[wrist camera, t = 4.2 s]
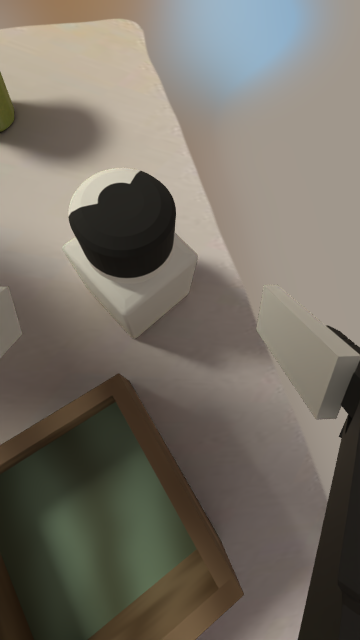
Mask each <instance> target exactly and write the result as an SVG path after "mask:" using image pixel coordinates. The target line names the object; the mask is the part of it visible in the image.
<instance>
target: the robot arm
mask: <svg viewBox="0 0 360 640" xmlns="http://www.w3.org/2000/svg"><path fill="white" fill-rule="evenodd" d="M256 330H257V332H258V333H259V335H260V336H261V338H262V339H263V341H264V342H265V344H266V345H267V347H268V348H269V350H270V351H271V353H272V354H273V356H274V357H275V359H276V360H277V362H278V363H279V365H280V366H281V368H282V369H283V371H284V372H285V374H286V375H287V376H288V378H289V380H290V381H291V383H292V384H293V386H294V387H295V389H296V390H297V392H298V393H299V395H300V396H301V398H302V399H303V401H304V402H305V404H306V405H307V407H308V408H309V410H310V411H311V413H312V414H313V415H314V417H315V419H336V418H337V415H338V413H339V410H340V408H341V406H342V407H343V408H344V409H345V411H346V412H347V413H348V416H347V419H346V421H345V423H344V426H343V428H342V430H341V433H340V435H339V437H341V438H342V439H341V444H340V448H339V453H338V457H337V462H336V467H335V471H334V476H333V480H332V485H331V490H330V494H329V499H328V503H327V508H326V513H325V517H324V522H323V526H322V531H321V536H320V540H319V545H318V549H317V554H316V559H315V563H314V568H313V573H312V577H311V582H310V586H309V591H308V596H307V600H306V605H305V609H304V614H303V619H302V623H301V628H300V632H299V637H298V640H360V347H358V346H357V345H355V344H354V343H353V342H352V341H351V340H350V339H348V338H347V337H346V336H345V335H343V334H342V333H341V332H340V331H338V330H336V329H334V328H332V327H330V326H325V325H324V324H323V323H322V322H321V321H320V320H318V319H317V318H316V317H315V316H314V315H313V314H311V313H310V312H309V311H308V310H307V309H305V308H304V307H303V306H302V305H301V304H300V303H298V302H297V301H296V300H295V299H294V298H292V297H291V296H290V295H289V294H288V293H287V292H285V291H284V290H283V289H282V288H281V287H280V286H278V285H264V287H263V293H262V299H261V305H260V310H259V316H258V322H257V328H256ZM21 335H22V331H21V328H20V324H19V321H18V317H17V314H16V310H15V307H14V304H13V300H12V297H11V293H10V290H9V287H0V358H1V357H2V356H3V355H4V354H5V353H6V352H7V351H8V350H9V348H10V347H11V346H12V345H13V344H14V343H15V342H16V341H17V340H18V338H19V337H20V336H21Z"/></svg>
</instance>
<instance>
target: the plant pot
mask: <svg viewBox="0 0 360 640" xmlns="http://www.w3.org/2000/svg"><path fill="white" fill-rule="evenodd" d="M13 121H14V107H13V105H12V102H11V99H10V97H9V94H8V91H7V89H6V86H5V83H4V81H3V78H2V75H1V72H0V132H1V131H3V130H5V129H6V128H8V127H9V126H10V125H11V124H12V122H13Z"/></svg>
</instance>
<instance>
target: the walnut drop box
mask: <svg viewBox="0 0 360 640" xmlns="http://www.w3.org/2000/svg"><path fill="white" fill-rule="evenodd" d="M243 595H244V593H243V591H242V588H241V586H240V584H239V581H238V579H237V577H236V575H235V572H234V570H233V568H232V565H231V563H230V561H229V558H228V556H227V554H226V552H225V549H224V547H223V545H222V542H221V540H220V538H219V537H218V535H217V533H216V531H215V530H214V528H213V526H212V524H211V523H210V521H209V519H208V517H207V516H206V514H205V512H204V510H203V509H202V507H201V505H200V504H199V502H198V500H197V498H196V497H195V495H194V493H193V491H192V490H191V488H190V486H189V484H188V483H187V481H186V479H185V477H184V476H183V474H182V472H181V470H180V469H179V467H178V465H177V463H176V462H175V460H174V458H173V456H172V455H171V453H170V451H169V450H168V448H167V446H166V444H165V443H164V441H163V439H162V437H161V436H160V434H159V432H158V430H157V429H156V427H155V425H154V423H153V422H152V420H151V418H150V416H149V415H148V413H147V411H146V409H145V408H144V406H143V404H142V402H141V401H140V399H139V397H138V396H137V394H136V392H135V390H134V389H133V387H132V385H131V383H130V382H129V380H127V379H126V378H124V377H123V376H121V375H120V374H119V373H118V374H117V375H115V376H114V377H112V378H110V379H109V380H107V381H105V382H104V383H102V384H100V385H99V386H97V387H95V388H94V389H92V390H91V391H89V392H87V393H86V394H84V395H82V396H81V397H79V398H77V399H76V400H74V401H72V402H71V403H69V404H67V405H66V406H64V407H63V408H61V409H59V410H58V411H56V412H54V413H53V414H51V415H49V416H48V417H46V418H44V419H43V420H41V421H40V422H38V423H36V424H35V425H33V426H31V427H30V428H28V429H26V430H25V431H23V432H21V433H20V434H18V435H16V436H15V437H13V438H12V439H10V440H8V441H7V442H5V443H3V444H2V445H0V640H195V639H196V638H197V637H199V636H200V635H201V634H202V633H203V632H204V631H205V630H206V629H207V628H208V627H209V626H211V625H212V624H213V623H214V622H215V621H216V620H217V619H218V618H219V617H220V616H221V615H223V614H224V613H225V612H226V611H227V610H228V609H229V608H230V607H231V606H232V605H233V604H235V603H236V602H237V601H238V600H239V599H240V598H241V597H242V596H243Z"/></svg>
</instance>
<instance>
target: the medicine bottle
mask: <svg viewBox="0 0 360 640" xmlns="http://www.w3.org/2000/svg"><path fill="white" fill-rule="evenodd" d="M68 217H69V223H70V226H71V228H72V231H73V233H74V234H75V236H76V237H75V238H73V239H72V240H70V241H69V242H67V243H66V244H65V245H64V246H63V251H64V253H65V254H66V256H67V258H68V259H69V261H70V262H71V264H72V265H73V267H74V269H75V270H76V272H77V273H78V275H79V276H80V278H81V279H82V281H83V283H84V284H85V286H86V287H87V289H88V290H89V291H90V292H91V293H92V294H93V295H94V297H95V298H96V299H97V300H98V301H99V302H100V303H101V304H102V305H103V307H104V308H105V309H106V310H107V311H108V312H109V313H110V314H111V315H112V317H113V318H114V319H115V320H116V321H117V322H118V323H119V324H120V325H121V327H122V328H123V329H124V330H125V331H126V332H127V333H128V334H129V335H130V337H131V338H134V339H135V338H137V337H138V336H140V335H141V334H142V333H143V332H144V331H145V330H147V329H148V328H149V327H150V326H151V325H152V324H154V323H155V322H156V321H157V320H158V319H160V318H161V317H162V316H163V315H164V314H165V313H167V312H168V311H169V310H170V309H171V308H173V307H174V306H175V305H176V304H177V303H178V302H180V301H181V300H182V299H183V298H184V297H185V296H187V295H188V294H189V291H190V287H191V283H192V279H193V275H194V271H195V267H196V263H197V259H198V255H197V254H196V253H195V252H194V251H193V250H192V249H191V248H190V247H189V246H188V245H187V244H186V243H185V242H184V241H183V240H182V239H181V238H180V237H179V236H178V235H177V234H176V233H175V219H176V208H175V203H174V200H173V198H172V196H171V194H170V192H169V191H168V189H167V188H166V187H165V186H164V185H163V184H162V183H161V182H160V181H158V180H157V179H156V178H154V177H153V176H151V175H149V174H147V173H145V172H143V171H140V170H136V169H131V168H113V169H107V170H104V171H101V172H99V173H96V174H94V175H92V176H91V177H89V178H88V179H87V180H85V181H84V182H83V183H82V184H81V185H80V186H79V188H78V189H77V190H76V192H75V193H74V195H73V197H72V199H71V202H70V204H69V210H68Z"/></svg>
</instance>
